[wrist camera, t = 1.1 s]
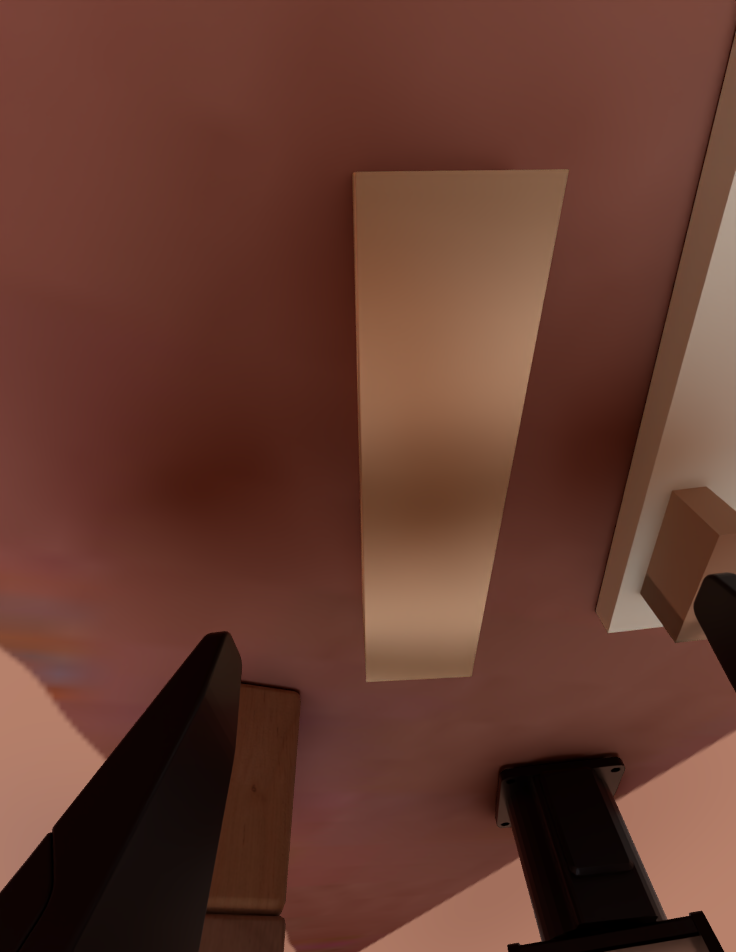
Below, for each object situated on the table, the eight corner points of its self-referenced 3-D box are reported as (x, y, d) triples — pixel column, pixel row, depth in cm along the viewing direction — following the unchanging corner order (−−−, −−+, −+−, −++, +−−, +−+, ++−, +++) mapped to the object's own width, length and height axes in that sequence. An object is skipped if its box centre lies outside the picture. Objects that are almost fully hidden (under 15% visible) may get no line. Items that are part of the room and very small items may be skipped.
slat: (452, 605, 18) (471, 676, 15) (362, 609, 18) (366, 681, 15) (511, 171, 10) (569, 168, 7) (351, 173, 10) (355, 171, 7)
